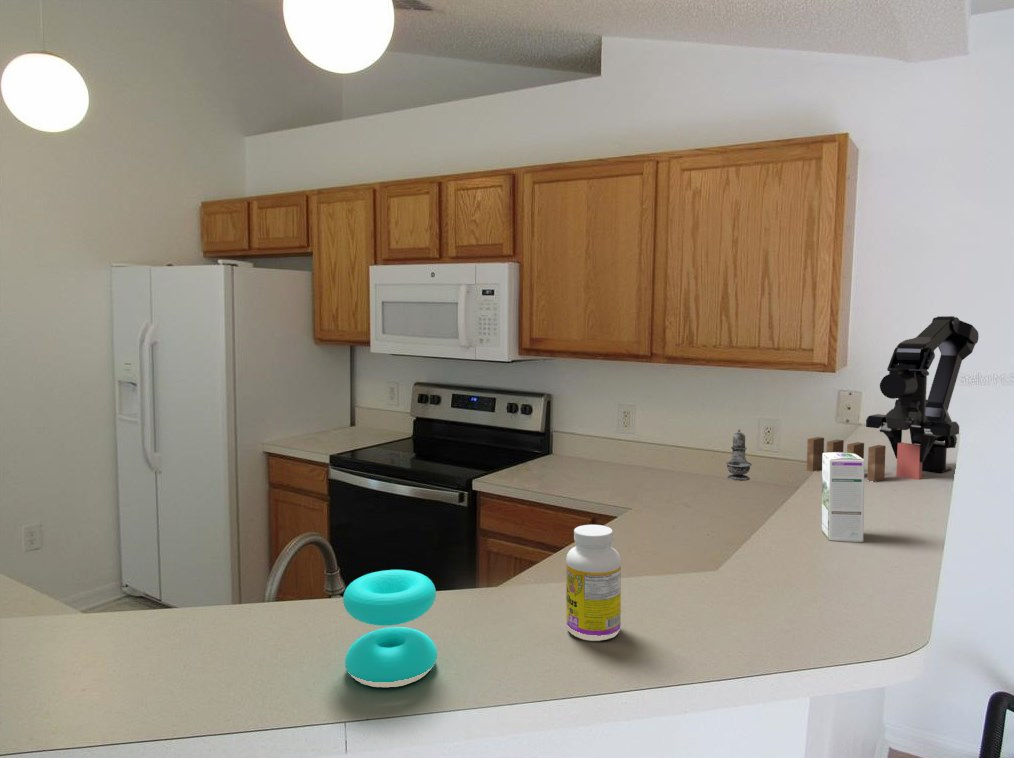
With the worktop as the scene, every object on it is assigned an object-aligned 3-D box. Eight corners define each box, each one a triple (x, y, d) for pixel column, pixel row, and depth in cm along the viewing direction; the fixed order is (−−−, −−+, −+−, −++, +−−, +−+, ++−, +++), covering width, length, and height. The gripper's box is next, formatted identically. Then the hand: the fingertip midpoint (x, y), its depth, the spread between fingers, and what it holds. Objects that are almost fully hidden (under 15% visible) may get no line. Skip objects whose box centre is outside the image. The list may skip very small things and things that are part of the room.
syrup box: (864, 542, 118) (867, 458, 117) (827, 540, 119) (829, 457, 118) (854, 532, 124) (857, 452, 122) (819, 531, 125) (821, 451, 124)
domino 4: (867, 481, 162) (868, 447, 162) (877, 478, 165) (878, 444, 165) (874, 482, 161) (875, 448, 160) (884, 479, 164) (885, 445, 163)
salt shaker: (747, 475, 169) (748, 427, 168) (754, 481, 163) (755, 430, 162) (723, 475, 170) (723, 427, 169) (728, 480, 164) (729, 430, 163)
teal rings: (333, 601, 71) (352, 566, 81) (336, 695, 71) (354, 649, 81) (432, 599, 71) (438, 565, 81) (434, 692, 72) (440, 647, 82)
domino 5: (899, 474, 168) (900, 442, 168) (921, 478, 164) (922, 445, 164) (896, 475, 167) (897, 443, 167) (918, 479, 163) (919, 446, 163)
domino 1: (806, 470, 174) (807, 439, 174) (817, 467, 177) (818, 436, 177) (812, 471, 173) (813, 439, 172) (823, 468, 176) (824, 437, 175)
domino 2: (825, 473, 170) (826, 441, 170) (836, 471, 173) (837, 439, 173) (832, 474, 169) (833, 442, 168) (842, 472, 172) (843, 440, 171)
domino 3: (846, 477, 166) (847, 444, 166) (856, 474, 169) (857, 442, 169) (852, 478, 165) (853, 445, 164) (863, 475, 168) (864, 443, 167)
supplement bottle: (565, 619, 89) (564, 521, 88) (616, 620, 89) (617, 521, 88) (568, 644, 82) (567, 538, 81) (624, 644, 82) (624, 538, 81)
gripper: (855, 394, 167) (853, 458, 168) (941, 401, 152) (938, 471, 153) (877, 391, 173) (875, 453, 175) (961, 397, 159) (958, 465, 160)
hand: (909, 460), depth 166 cm, fingers closed on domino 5, 5 cm apart
